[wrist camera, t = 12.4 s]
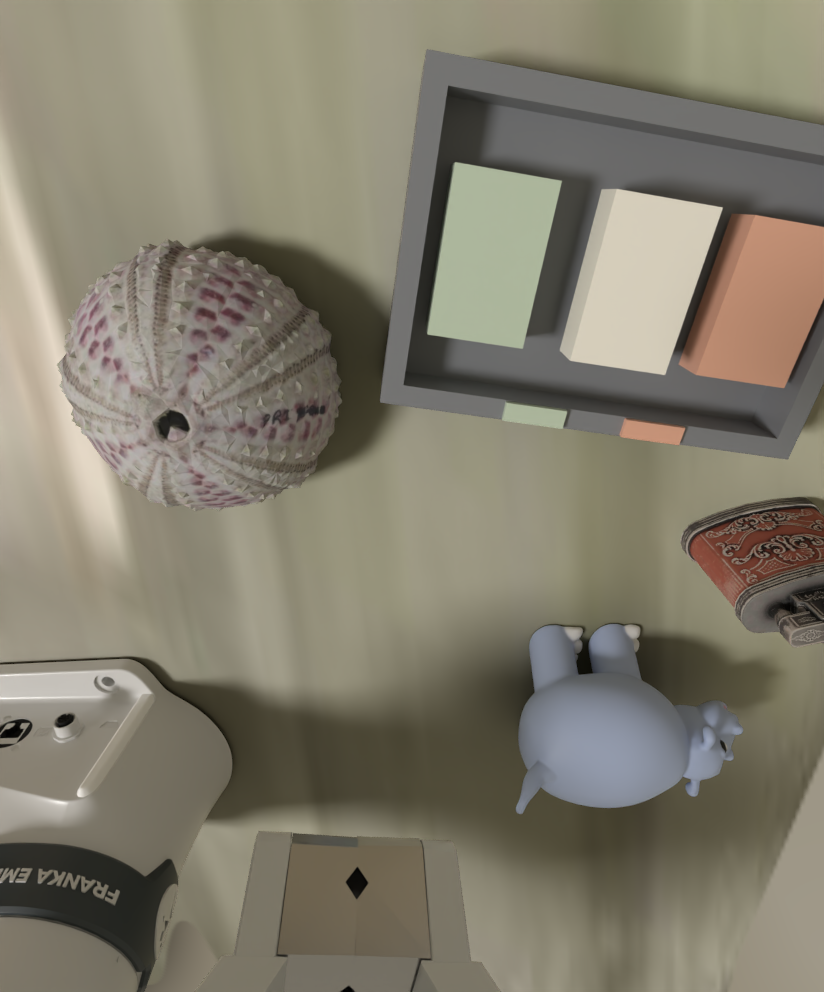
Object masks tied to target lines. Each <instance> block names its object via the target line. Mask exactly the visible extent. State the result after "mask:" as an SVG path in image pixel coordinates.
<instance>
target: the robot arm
mask: <svg viewBox="0 0 824 992" xmlns="http://www.w3.org/2000/svg"><path fill="white" fill-rule="evenodd" d="M231 773H232V755H231V751H230V748H229V745H228V743H227V741H226V739H225V737H224V736H223V734H222V733H221V731H220V730H219V729H218V727H217V726H216V725H215V724H214V723H213V722H212V721H211V720H210V719H209V718H208V717H207V716H206V715H205V714H203V713H202V712H201V711H199V710H198V709H197V708H195V707H194V706H192V705H191V704H189V703H187V702H186V701H184V700H182V699H180V698H179V697H177V696H175V695H173V694H172V693H170V692H169V691H168V690H166V689H165V688H164V687H163V686H162V685H161V684H160V682H159V681H158V680H157V679H156V678H155V677H154V675H153V674H152V673H151V672H150V671H149V670H148V669H147V668H146V667H145V666H143V665H142V664H140V663H139V662H137V661H134V660H130V659H111V660H90V661H69V662H47V663H26V664H5V665H0V992H144V991H145V989H146V986H147V983H148V981H149V978H150V975H151V972H152V969H153V967H154V964H155V961H156V960H158V958H159V955H160V952H161V949H162V946H163V943H164V939H165V936H166V933H167V930H168V927H169V923H170V920H171V917H172V913H173V910H174V906H175V903H176V899H177V893H178V878H179V875H180V873H181V870H182V868H183V865H184V863H185V861H186V858H187V856H188V854H189V852H190V850H191V848H192V845H193V843H194V841H195V839H196V837H197V835H198V833H199V831H200V829H201V827H202V825H203V823H204V821H205V820H206V818H207V816H208V814H209V813H210V811H211V809H212V808H213V806H214V804H215V803H216V801H217V800H218V798H219V797H220V795H221V794H222V792H223V791H224V790H225V788H226V786H227V785H228V783H229V780H230V777H231ZM291 840H292V843H291ZM290 849H291V850H290ZM195 992H501V991H500V990H499V988H498V987H497V985H496V984H495V982H494V981H493V979H492V978H491V976H490V975H489V973H488V972H487V970H486V969H485V967H484V966H483V964H482V963H481V962H474V961H471V957H470V949H469V942H468V934H467V926H466V919H465V911H464V904H463V896H462V888H461V881H460V873H459V866H458V858H457V851H456V848H455V846H454V844H453V842H452V841H450V840H420V839H419V838H392V837H362V836H357V837H346V836H330V835H313V834H297V833H293V836H292V833H290V832H268V831H258V834H257V838H256V841H255V844H254V849H253V854H252V860H251V865H250V870H249V876H248V881H247V886H246V891H245V897H244V902H243V907H242V912H241V918H240V923H239V928H238V934H237V939H236V944H235V949H234V955H222V956H221V958H220V959H219V960H218V962H217V963H216V964H215V965H214V967H213V968H212V969H211V971H210V972H209V973H208V975H207V976H206V977H205V978H204V980H203V981H202V982H201V984H200V985H199V986H198V988H197V989H196V990H195Z"/></svg>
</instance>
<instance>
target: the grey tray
mask: <svg viewBox="0 0 824 992" xmlns="http://www.w3.org/2000/svg"><path fill="white" fill-rule="evenodd" d="M454 162H457V163H463V164H469V165H475V166H480V167H486V168H492V169H497V170H503V171H509V172H514V173H520V174H526V175H531V176H537V177H543V178H548V179H554V180H560V181H562V183H561V187H560V192H559V196H558V200H557V204H556V209H555V213H554V217H553V222H552V226H551V230H550V234H549V239H548V243H547V247H546V251H545V256H544V260H543V264H542V269H541V273H540V277H539V281H538V286H537V290H536V294H535V299H534V303H533V307H532V311H531V316H530V320H529V324H528V328H527V333H526V337H525V341H524V346H523V349H520V348H514V347H507V346H500V345H494V344H487V343H480V342H474V341H467V340H460V339H454V338H447V337H441V336H434V335H427V330H426V321H427V314H428V308H429V302H430V295H431V289H432V283H433V276H434V270H435V264H436V258H437V251H438V245H439V239H440V232H441V226H442V220H443V214H444V207H445V201H446V195H447V188H448V182H449V176H450V170H451V164H453V163H454ZM602 189H621V190H626V191H632V192H638V193H643V194H649V195H655V196H660V197H666V198H672V199H677V200H683V201H689V202H694V203H700V204H706V205H711V206H717V207H723V209H722V212H721V215H720V218H719V220H718V223H717V226H716V229H715V232H714V235H713V238H712V241H711V244H710V246H709V249H708V252H707V255H706V258H705V261H704V264H703V267H702V270H701V272H700V275H699V278H698V281H697V284H696V287H695V290H694V293H693V296H692V298H691V301H690V304H689V307H688V310H687V313H686V316H685V319H684V322H683V324H682V327H681V330H680V333H679V336H678V339H677V342H676V345H675V348H674V350H673V353H672V356H671V359H670V362H669V365H668V368H667V371H666V374H665V375H661V374H654V373H648V372H641V371H634V370H628V369H621V368H614V367H608V366H601V365H594V364H588V363H581V362H574V361H570V360H569V359H568V358H567V357H566V356H565V355H564V354H563V353H562V352H561V351H560V347H561V343H562V339H563V336H564V332H565V328H566V324H567V320H568V316H569V313H570V309H571V305H572V301H573V297H574V293H575V290H576V286H577V282H578V278H579V274H580V271H581V267H582V263H583V259H584V255H585V251H586V248H587V244H588V240H589V236H590V232H591V228H592V225H593V221H594V217H595V213H596V209H597V206H598V202H599V198H600V194H601V190H602ZM731 214H748V215H758V216H764V217H770V218H775V219H781V220H787V221H792V222H798V223H804V224H809V225H815V226H821V227H824V125H819V124H814V123H809V122H804V121H798V120H793V119H788V118H783V117H778V116H772V115H767V114H762V113H757V112H751V111H746V110H741V109H736V108H731V107H725V106H720V105H715V104H710V103H705V102H699V101H694V100H689V99H684V98H679V97H673V96H668V95H663V94H658V93H652V92H647V91H642V90H637V89H632V88H626V87H621V86H616V85H611V84H606V83H600V82H595V81H590V80H585V79H579V78H574V77H569V76H564V75H559V74H553V73H548V72H543V71H538V70H533V69H527V68H522V67H517V66H512V65H506V64H501V63H496V62H491V61H486V60H480V59H475V58H470V57H465V56H460V55H454V54H449V53H444V52H439V51H434V50H428V49H427V51H426V56H425V61H424V66H423V72H422V80H421V87H420V95H419V103H418V110H417V118H416V125H415V133H414V140H413V148H412V156H411V163H410V171H409V178H408V186H407V193H406V201H405V208H404V216H403V224H402V231H401V239H400V246H399V254H398V261H397V269H396V277H395V284H394V292H393V299H392V307H391V314H390V322H389V330H388V337H387V345H386V352H385V360H384V367H383V375H382V384H381V395H380V403H387V404H394V405H401V406H408V407H416V408H423V409H430V410H437V411H444V412H451V413H459V414H466V415H473V416H480V417H487V418H494V419H501V420H503V421H509V422H516V423H523V424H531V425H538V426H545V427H552V428H559V429H563V428H566V429H573V430H580V431H587V432H594V433H602V434H609V435H616V436H621V437H624V438H631V439H638V440H645V441H652V442H659V443H667V444H674V445H679V444H680V445H688V446H695V447H702V448H709V449H716V450H723V451H730V452H738V453H745V454H752V455H759V456H766V457H773V458H781V459H788V458H789V456H790V454H791V452H792V450H793V447H794V445H795V443H796V441H797V439H798V437H799V435H800V432H801V430H802V428H803V426H804V424H805V422H806V420H807V418H808V415H809V413H810V411H811V409H812V407H813V405H814V403H815V401H816V398H817V396H818V394H819V392H820V390H821V388H822V386H823V383H824V299H823V301H822V304H821V306H820V308H819V310H818V313H817V315H816V317H815V319H814V322H813V324H812V326H811V329H810V331H809V333H808V335H807V338H806V340H805V342H804V344H803V347H802V349H801V351H800V353H799V356H798V358H797V360H796V363H795V365H794V367H793V369H792V372H791V374H790V376H789V378H788V381H787V383H786V385H785V387H784V388H779V387H772V386H765V385H759V384H752V383H746V382H739V381H732V380H726V379H719V378H712V377H706V376H699V375H695V374H693V373H692V372H690V371H688V370H687V369H685V368H684V367H682V366H680V365H679V362H680V359H681V356H682V353H683V350H684V347H685V345H686V342H687V339H688V336H689V333H690V330H691V328H692V325H693V322H694V319H695V316H696V313H697V311H698V308H699V305H700V302H701V299H702V296H703V294H704V291H705V288H706V285H707V282H708V280H709V277H710V274H711V271H712V268H713V265H714V263H715V260H716V257H717V254H718V251H719V248H720V246H721V243H722V240H723V237H724V234H725V231H726V229H727V226H728V223H729V220H730V217H731Z"/></svg>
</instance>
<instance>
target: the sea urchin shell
mask: <svg viewBox="0 0 824 992" xmlns="http://www.w3.org/2000/svg"><path fill="white" fill-rule="evenodd" d="M72 314H73V316H72V317H70V318H69V319H68V320H69V323H70V325H71V327H72V328H71V330H70V331H71V333H69V334H67V335H65V340H66V345H65V350H66V355H65V356H64V358H63V359H62V360H61V361H60V362H59V363H58V364H57V366H58V368H59V372H60V373H61V375H62V381H61V384H60V387H61V388H62V392H63V393H64V394H65V396H66V397H67V399H68V401H69V402H70V403H71V405H72V406H73V411H72V414H71V415H72V416H73V420H72V421H73V422H75V423H76V425H77V426H79V427H81V430H82V433H83V434H84V435H86V436H87V437H88V439H89V440H90V442H91V443H92V445H93V446H94V448H95V449H96V450H97V452H98V453H99V454H100V456H101V457H102V458H103V459H104V460H105V461H106V462H107V463H108V464H109V466H110V468H111V470H112V471H113V472H115V473H117V474H118V475H119V476H120V478H121V481H122V483H123V484H125V485H129V486H133V487H135V488H136V489H137V490H139V491H140V492H141V493H142V494H143V495H145V496H146V497H147V498H148V499H149V501H150V502H158V503H163V504H164V505H165V506H166V507H173V506H177V505H185V506H187V507H188V508H190V509H193V510H195V511H198V510H200V509H203V508H210V509H213V508H214V509H216V510H217V511H220V510H221V509H223V508H224V507H233V506H240V505H241V506H246V505H247V504H250V503H251V504H258V502H263V501H264V500H265V499H266V498H270V499H275V497H276V495H277V494H280V493H281V492H282V491H283V489H288V488H300V486H301V484H302V482H304V481H305V479H306V477H307V476H309V474H312V473H314V472H315V468H316V466H317V459H318V455H319V454H320V453H321V451H322V450H323V449H324V448H325V446H326V445H328V439H329V437H330V436H331V435H332V434H333V433H334V430H335V427H334V425H335V418H336V417H339V416H338V414H339V409H338V406H339V405H340V404H341V403H342V400H341V398H340V395H341V394H340V392H339V390H338V388H339V386H340V384H341V380H340V378H339V376H338V374H337V372H336V368H337V366H336V365H337V361H336V359H335V358H333V357H331V354H330V343H331V336H332V335H331V333H330V332H329V331H328V330H326V329H325V328H323V327H322V325H321V324H320V322H319V314H318V312H317V311H314V310H311V309H309V308H307V307H305V306H304V305H303V304H302V303H301V302H299V301H298V299H297V296H296V294H295V292H294V289H292V288H289V287H286V286H285V285H284V284H283V282H282V280H281V279H280V277H278V276H275V275H270V274H269V273H268V272H267V271H266V269H265V268H264V267H263V266H261V265H257V264H256V265H254V264H251V262H250V261H249V260H248V259H247V258H246V257H236V256H234V255H233V254H232V253H230V252H229V251H225V252H224V251H222V252H213V251H212V250H211V249H207V248H205V247H201V248H199V249H197V250H191V249H189V248H186V247H184V246H183V245H182V244H181V243H180V242H178V241H177V240H176V241H175V242H172V241H170V240H169V239H167V240H166V241H164V242H163V243H162V244H161V245H159V246H158V247H157V246H154V245H151V244H147V246H146V247H144V246H141V248H140V250H139V253H138V254H137V255H136V256H135V258H134V259H133V260H129V261H127V262H121V263H117V264H116V266H115V267H114V269H113V270H112V271H106V272H105V275H103V276H101V277H98V278H97V282H96V284H93V285H89V292H87V293H86V296H85V297H84V298H83V299H82V301H81V304H80V306H79V309H77V310H74V311H72Z"/></svg>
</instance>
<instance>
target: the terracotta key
mask: <svg viewBox="0 0 824 992" xmlns="http://www.w3.org/2000/svg"><path fill="white" fill-rule="evenodd" d="M823 299H824V227H821V226H815V225H809V224H804V223H798V222H792V221H787V220H781V219H775V218H770V217H764V216H758V215H748V214H731V217H730V220H729V223H728V226H727V229H726V231H725V234H724V237H723V240H722V243H721V246H720V248H719V251H718V254H717V257H716V260H715V263H714V265H713V268H712V271H711V274H710V277H709V280H708V282H707V285H706V288H705V291H704V294H703V296H702V299H701V302H700V305H699V308H698V311H697V313H696V316H695V319H694V322H693V325H692V328H691V330H690V333H689V336H688V339H687V342H686V345H685V347H684V350H683V353H682V356H681V359H680V362H679V365H680V366H682V367H684V368H685V369H687V370H688V371H690V372H692V373H693V374H695V375H699V376H706V377H712V378H719V379H726V380H732V381H739V382H746V383H752V384H759V385H765V386H772V387H779V388H784V387H785V385H786V383H787V381H788V378H789V376H790V374H791V372H792V369H793V367H794V365H795V363H796V360H797V358H798V356H799V353H800V351H801V349H802V347H803V344H804V342H805V340H806V338H807V335H808V333H809V331H810V329H811V326H812V324H813V322H814V319H815V317H816V315H817V313H818V310H819V308H820V306H821V304H822V301H823Z"/></svg>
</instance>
